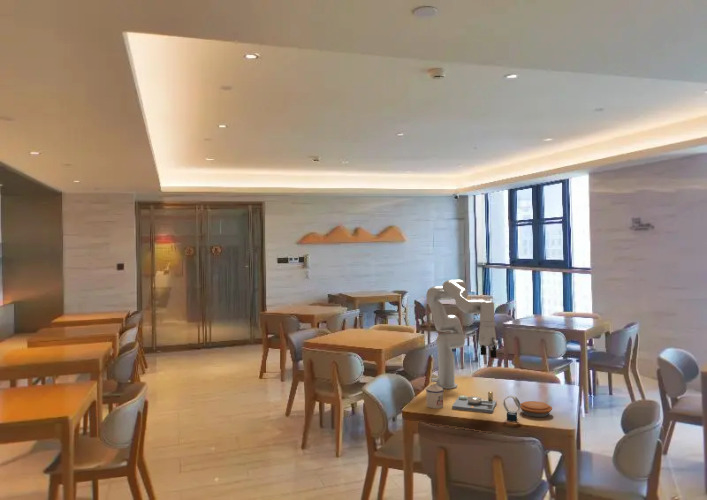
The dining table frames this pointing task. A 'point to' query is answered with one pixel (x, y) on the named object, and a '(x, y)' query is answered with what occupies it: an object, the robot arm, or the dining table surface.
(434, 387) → the teacup with lid
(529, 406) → the pie
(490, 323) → the robot arm
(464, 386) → the dining table surface
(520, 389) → the dining table surface
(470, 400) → the footscrew knob
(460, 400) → the base plate
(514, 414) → the watch
